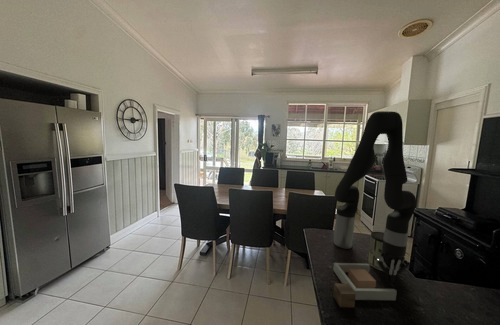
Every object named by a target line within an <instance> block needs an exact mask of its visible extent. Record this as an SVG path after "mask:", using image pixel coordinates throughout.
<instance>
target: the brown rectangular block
mask: <svg viewBox="0 0 500 325" xmlns="http://www.w3.org/2000/svg"><path fill="white" fill-rule="evenodd" d="M347 277H348V278H349V279H350V281H351V282H352V283H353V284H354V286H355V287H356V288H367V289H376V287H377V286H376V285H377V280H376V279H375V277H373V276H372V274H370V272H369V273H368V272H367V271H366V270H365V269H349V271H348V272H347Z"/></svg>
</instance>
